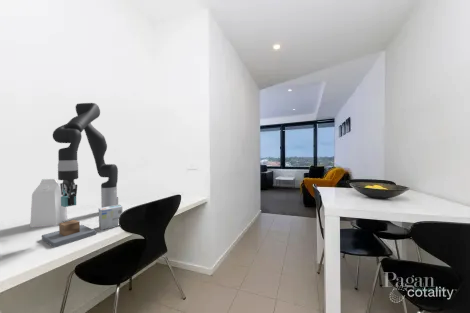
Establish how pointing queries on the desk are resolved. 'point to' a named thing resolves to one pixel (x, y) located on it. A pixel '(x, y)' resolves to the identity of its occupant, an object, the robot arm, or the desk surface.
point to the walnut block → (69, 227)
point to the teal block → (66, 201)
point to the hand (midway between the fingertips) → (68, 204)
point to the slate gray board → (58, 239)
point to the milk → (47, 204)
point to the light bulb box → (109, 216)
